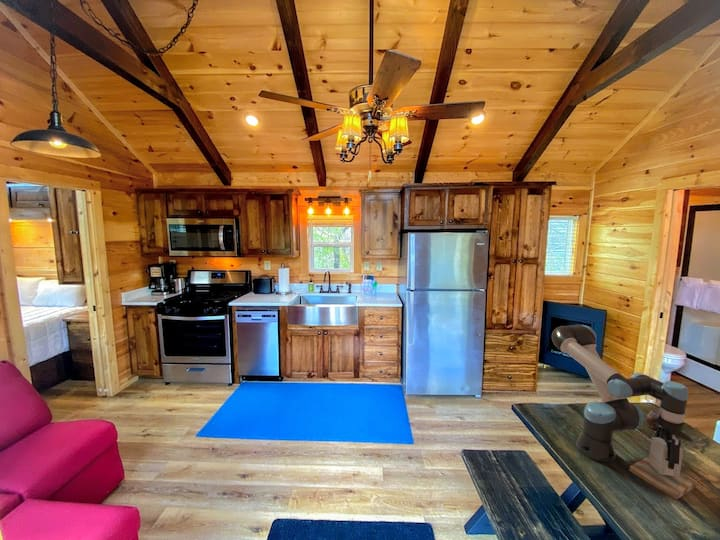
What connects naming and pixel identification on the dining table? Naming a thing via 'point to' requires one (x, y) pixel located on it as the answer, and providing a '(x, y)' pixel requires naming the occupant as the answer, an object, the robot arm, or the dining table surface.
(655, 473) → the plinth
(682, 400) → the robot arm
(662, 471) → the supplement box
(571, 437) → the dining table surface
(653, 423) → the rock
